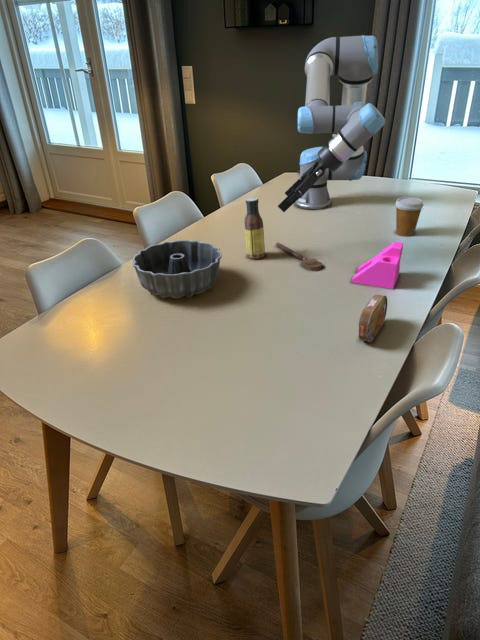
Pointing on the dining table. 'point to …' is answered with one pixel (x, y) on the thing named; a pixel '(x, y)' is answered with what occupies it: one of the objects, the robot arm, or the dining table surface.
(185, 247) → the bundt pan
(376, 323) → the tin
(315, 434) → the dining table surface
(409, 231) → the disposable coffee cup
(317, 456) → the dining table surface
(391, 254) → the bracket
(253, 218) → the sauce bottle
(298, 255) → the wooden spoon
